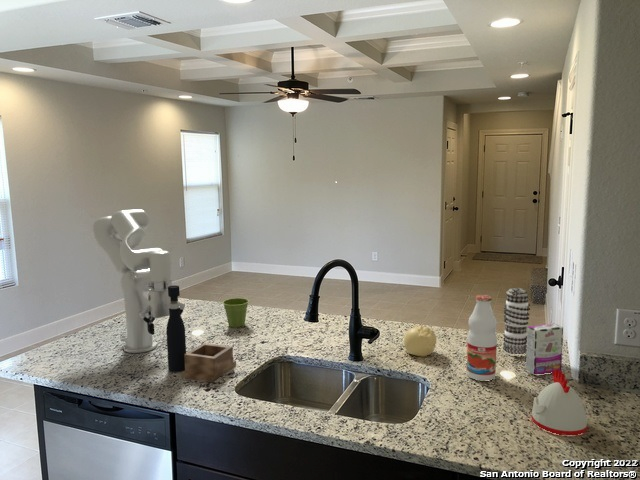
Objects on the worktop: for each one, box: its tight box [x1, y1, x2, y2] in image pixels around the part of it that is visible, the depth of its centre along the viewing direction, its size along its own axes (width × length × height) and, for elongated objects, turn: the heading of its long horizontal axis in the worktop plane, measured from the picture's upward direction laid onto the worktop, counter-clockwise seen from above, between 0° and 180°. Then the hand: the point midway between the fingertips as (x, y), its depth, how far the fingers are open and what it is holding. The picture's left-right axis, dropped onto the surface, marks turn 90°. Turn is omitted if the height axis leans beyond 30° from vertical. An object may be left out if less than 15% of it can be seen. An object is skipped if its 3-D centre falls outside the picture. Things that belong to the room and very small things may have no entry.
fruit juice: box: [466, 294, 498, 380], centre depth 171 cm, size 9×9×28 cm
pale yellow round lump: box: [403, 324, 437, 357], centre depth 194 cm, size 11×12×11 cm
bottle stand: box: [181, 342, 237, 383], centre depth 180 cm, size 12×16×8 cm
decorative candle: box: [502, 287, 531, 354], centre depth 193 cm, size 9×9×25 cm
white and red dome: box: [531, 369, 588, 435], centre depth 140 cm, size 14×14×15 cm
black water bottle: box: [165, 285, 187, 373], centre depth 180 cm, size 6×6×30 cm
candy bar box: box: [525, 323, 564, 374], centre depth 175 cm, size 11×5×16 cm, turn 105°
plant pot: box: [222, 297, 250, 328], centre depth 231 cm, size 12×12×11 cm
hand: (164, 330), depth 187 cm, fingers open, 9 cm apart
